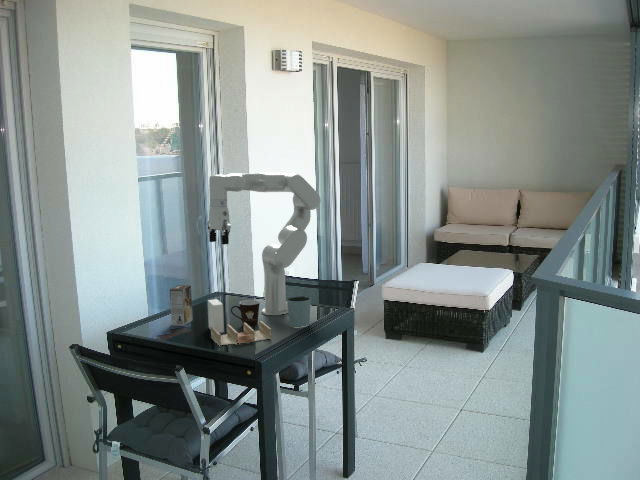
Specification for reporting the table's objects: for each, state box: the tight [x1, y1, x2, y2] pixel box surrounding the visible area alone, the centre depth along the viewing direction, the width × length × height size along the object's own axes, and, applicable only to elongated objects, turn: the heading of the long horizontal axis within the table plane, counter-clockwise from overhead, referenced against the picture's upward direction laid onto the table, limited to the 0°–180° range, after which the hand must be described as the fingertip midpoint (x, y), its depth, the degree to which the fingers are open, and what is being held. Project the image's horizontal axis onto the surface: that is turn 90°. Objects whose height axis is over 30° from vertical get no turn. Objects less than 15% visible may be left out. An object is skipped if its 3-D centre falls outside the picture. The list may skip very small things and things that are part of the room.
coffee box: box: [169, 284, 193, 327], centre depth 301 cm, size 9×6×16 cm
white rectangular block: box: [207, 298, 225, 334], centre depth 290 cm, size 4×10×12 cm, turn 22°
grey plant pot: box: [286, 295, 312, 327], centre depth 294 cm, size 10×10×12 cm
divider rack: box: [210, 320, 272, 347], centre depth 277 cm, size 21×14×5 cm, turn 112°
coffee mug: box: [230, 299, 260, 328], centre depth 297 cm, size 12×9×10 cm
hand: (218, 243), depth 300 cm, fingers open, 9 cm apart
